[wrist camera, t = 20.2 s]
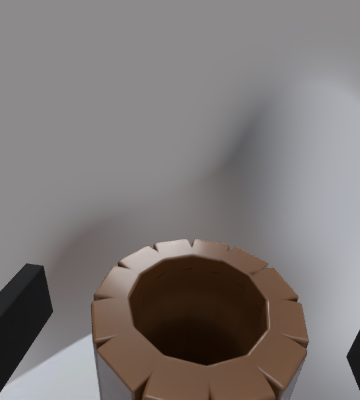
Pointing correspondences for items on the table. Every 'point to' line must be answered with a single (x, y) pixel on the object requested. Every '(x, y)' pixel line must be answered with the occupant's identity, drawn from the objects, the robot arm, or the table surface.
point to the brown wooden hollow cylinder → (196, 326)
